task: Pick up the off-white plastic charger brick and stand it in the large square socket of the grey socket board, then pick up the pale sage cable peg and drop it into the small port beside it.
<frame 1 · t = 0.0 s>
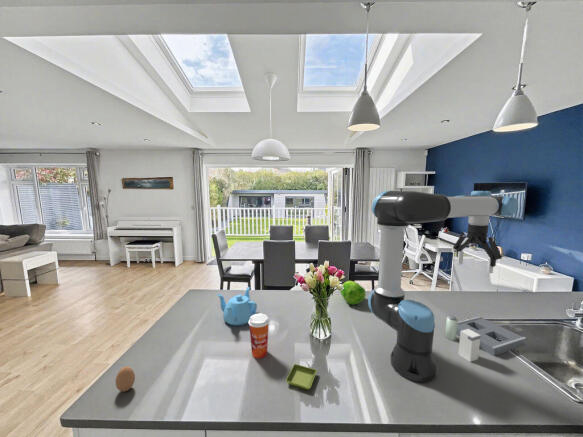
hand: (473, 268, 114), 28 cm above the kitchen island, fingers open, 13 cm apart
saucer: (301, 381, 83), on the kitchen island
charger: (468, 356, 94), on the kitchen island
teapot: (238, 318, 123), on the kitchen island
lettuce: (351, 300, 142), on the kitchen island
cable peg: (450, 337, 106), on the kitchen island
grey socket board: (485, 337, 106), on the kitchen island
egg: (126, 390, 79), on the kitchen island
coffee cup: (259, 353, 96), on the kitchen island
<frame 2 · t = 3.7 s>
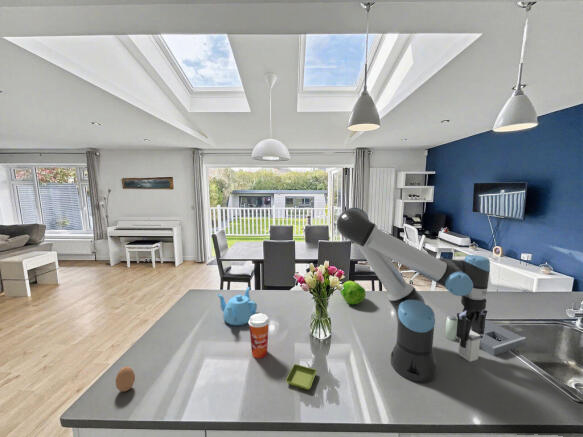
hand: (468, 352, 94), 2 cm above the kitchen island, fingers closed on charger, 4 cm apart
charger: (468, 356, 94), on the kitchen island, touching gripper
everything else where it was.
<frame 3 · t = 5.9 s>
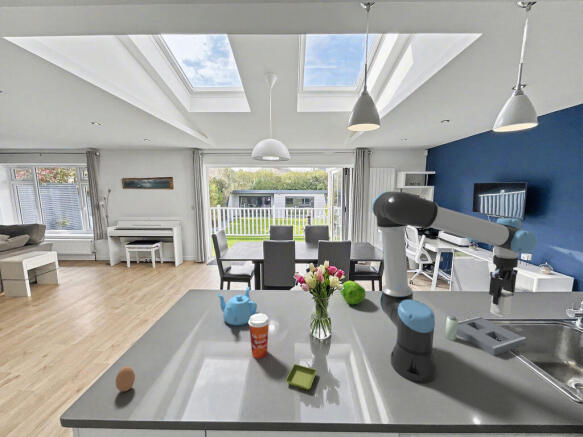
hand: (500, 310, 100), 15 cm above the kitchen island, fingers closed on charger, 4 cm apart
charger: (499, 313, 101), point 13 cm above the kitchen island, touching gripper
everything else where it was.
when the fingers open (4 cm above the kitchen island, at t = 8.2 s): charger drops 2 cm, resting in grey socket board.
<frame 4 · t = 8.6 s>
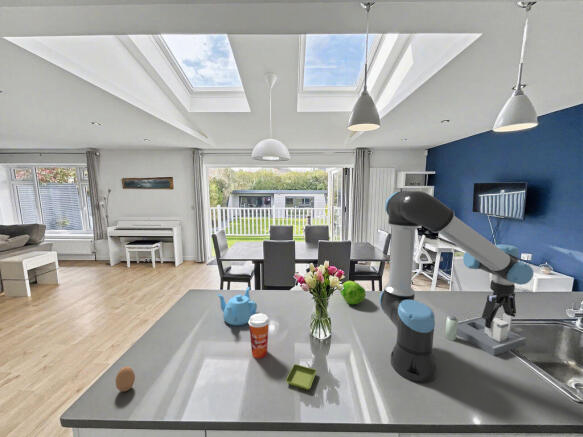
hand: (497, 331, 102), 5 cm above the kitchen island, fingers open, 10 cm apart
charger: (496, 343, 102), resting in grey socket board
everything else where it was.
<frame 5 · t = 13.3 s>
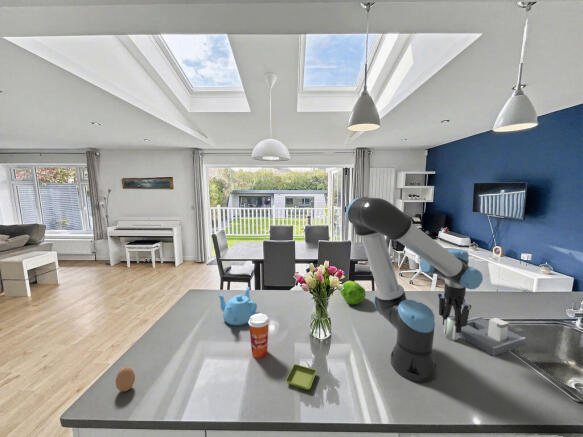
hand: (450, 335, 106), 1 cm above the kitchen island, fingers closed on cable peg, 3 cm apart
cable peg: (451, 338, 106), on the kitchen island, touching gripper
everything else where it was.
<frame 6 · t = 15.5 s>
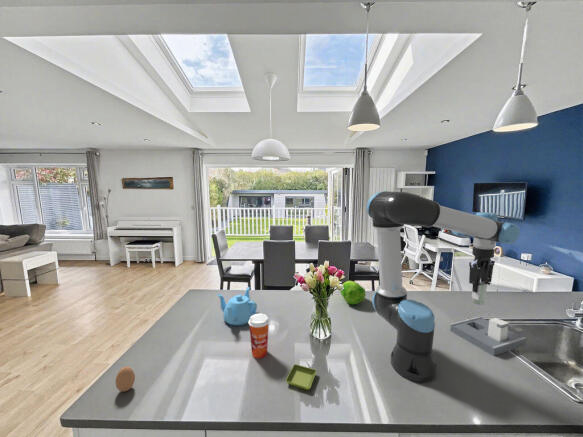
hand: (478, 297, 108), 16 cm above the kitchen island, fingers closed on cable peg, 3 cm apart
cable peg: (478, 302, 109), point 14 cm above the kitchen island, touching gripper
everything else where it was.
when the fingers open (4 cm above the kitchen island, at t = 18.0 s): cable peg drops 2 cm, resting in grey socket board.
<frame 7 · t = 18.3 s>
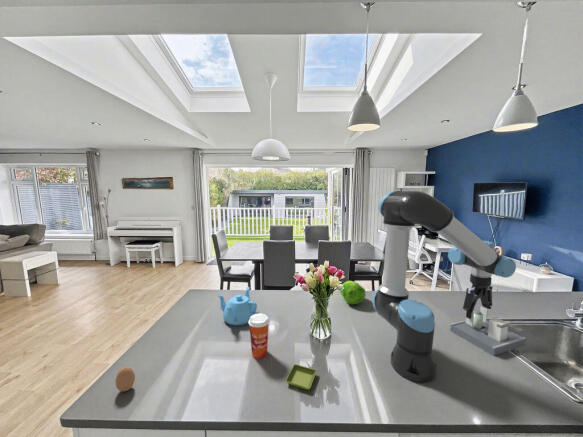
hand: (476, 322, 110), 5 cm above the kitchen island, fingers open, 8 cm apart
cable peg: (475, 331, 111), resting in grey socket board
everything else where it was.
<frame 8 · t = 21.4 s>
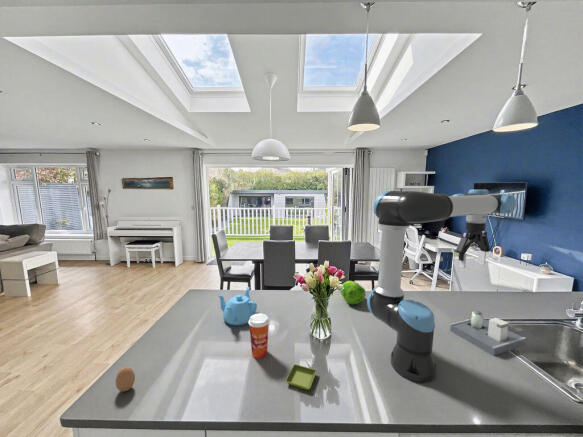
hand: (471, 265, 116), 29 cm above the kitchen island, fingers open, 13 cm apart
nothing on the kitchen island moved.
at the end: charger 0.1 cm from the target spot on the grey socket board, point 0.0 cm above the grey socket board's base; charger tilted 0°; cable peg 0.2 cm from the target spot on the grey socket board, point 0.0 cm above the grey socket board's base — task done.
